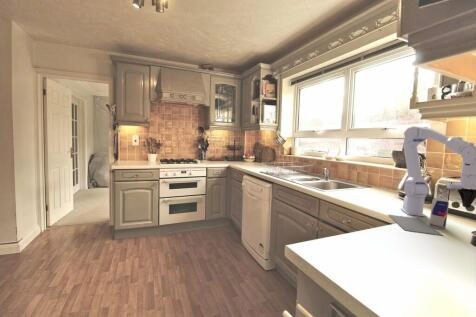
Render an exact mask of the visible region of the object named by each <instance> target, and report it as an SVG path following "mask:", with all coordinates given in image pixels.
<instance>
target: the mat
mask: <svg viewBox="0 0 476 317" xmlns="http://www.w3.org/2000/svg"><path fill="white" fill-rule="evenodd" d="M388 217H390V219H392V220H393V221H394V222H395V223H396V224H397V225H398V226H399V227H400V228H401V229H402V230H403V231H406V232H413V233H420V234H426V235H427V234H429V235H434V236H440V237H441V236H442V237H444V235H443V233H441V232H440V231H438V230H437V229H436V228H434V227H431V226H430V225H429V224H428V223H427V222H426V221H424V220H423V219H421V218H419V217H412V216H411V217H410V216H404V215H403V216H402V215H393V214H388Z"/></svg>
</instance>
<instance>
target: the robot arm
mask: <svg viewBox="0 0 476 317" xmlns="http://www.w3.org/2000/svg"><path fill="white" fill-rule="evenodd" d="M403 135H404V140H403V153H404V157H405V165H406V170H407V177H408V178H406V179H405V180H404V187H403V191H404V194H405V196H404V198H403V205H402V207H401V208H400V210H401V211H402V212H404V213H405V214H406V215H408V216H409V215H410V216H419V217H426V218H427V215H426V214H425V213H424V207H425V200H426V199H425V198H427V197H426V196H427V195H428V194H429V193H430V187H429V185H428V184H427V181H426V179H425V178H424V177H423V174H422V170H421V165H420V158H419V157H420V156H419V152H418V146H419V145H420V144H422V143H423V142H424V141H426V140H428V139H431V140H433V141H437V142H439V143H441V144H444V145H445V148H446V149H448V150H449V151H451V152H453V153H455V154H458V155H459V156H461V158H462V166H461V173H460V179H459V180H460V181H459V183H450V182H449V183H448V182H447V183H446V188H447V189H450V190H451V189H453V190H457V193H458V194H459V196H460V199H461V203H462V207H464V208H468V209H470V207H471V206H472V204H473V203H474V201H475V200H476V145H475V143H474V142H468V141H466V140H465V139H463V137H461V136H457V137H456V136H453V137H449V136H447V135H445V134H443V133H441V132H439V131H437V130H436V129H433V128H429V127H427V126H414V125H410V126H408V127H407V128H406V130H404V132H403Z"/></svg>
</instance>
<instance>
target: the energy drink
mask: <svg viewBox="0 0 476 317" xmlns="http://www.w3.org/2000/svg"><path fill="white" fill-rule="evenodd" d="M431 201H432V202H431V208H430V209H431V210H430V217H429V222H428V223H429V224H428V225H430V226H431V227H432V228H434V229H439V230H445V229H446V225H447V222H448V221H447V220H448V213H449V206H450V203H449V202H450V201H449V200H448V199H442V198H436V197H435V198H433V199H432V200H431Z"/></svg>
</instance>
